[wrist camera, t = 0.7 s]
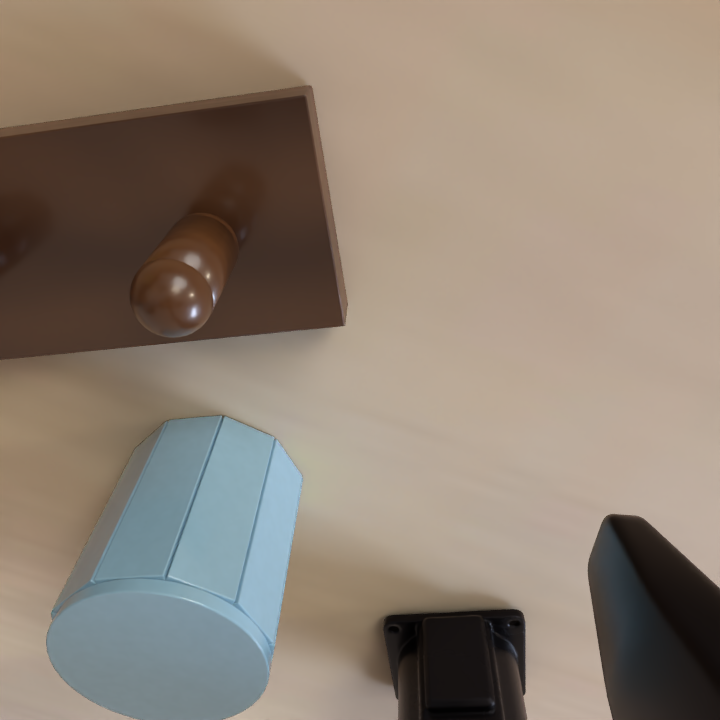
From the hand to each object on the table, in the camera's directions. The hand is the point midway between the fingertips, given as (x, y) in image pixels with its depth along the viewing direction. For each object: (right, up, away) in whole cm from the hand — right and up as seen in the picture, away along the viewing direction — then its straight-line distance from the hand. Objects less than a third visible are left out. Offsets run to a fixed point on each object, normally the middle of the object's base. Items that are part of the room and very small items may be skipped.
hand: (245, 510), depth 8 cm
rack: (-11, +6, +13) cm, 18 cm away
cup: (-4, -3, +18) cm, 19 cm away
